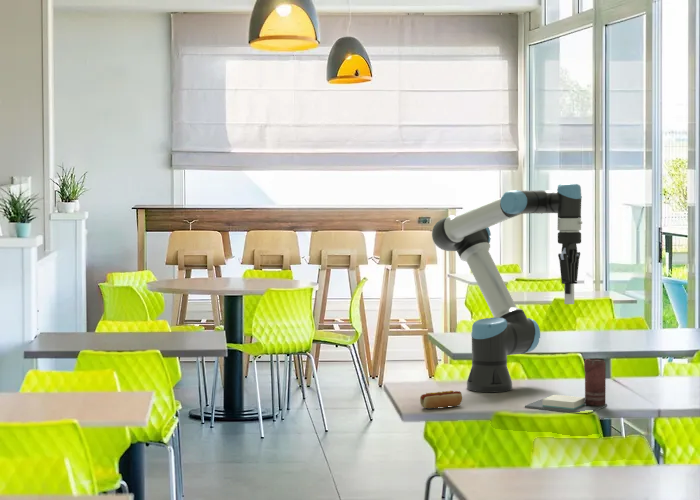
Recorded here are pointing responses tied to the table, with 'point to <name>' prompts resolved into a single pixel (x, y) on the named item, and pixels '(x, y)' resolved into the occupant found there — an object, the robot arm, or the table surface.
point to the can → (595, 382)
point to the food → (441, 399)
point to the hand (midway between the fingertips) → (569, 303)
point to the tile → (563, 402)
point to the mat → (539, 405)
